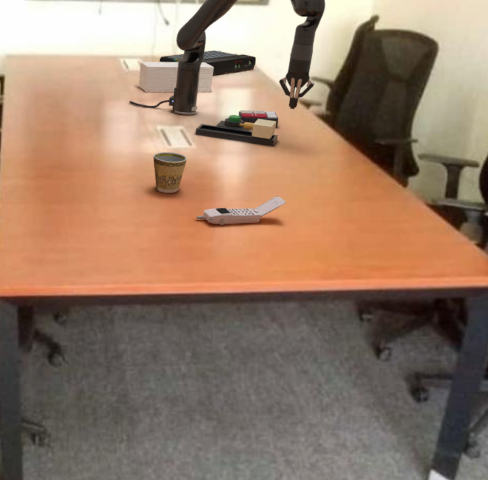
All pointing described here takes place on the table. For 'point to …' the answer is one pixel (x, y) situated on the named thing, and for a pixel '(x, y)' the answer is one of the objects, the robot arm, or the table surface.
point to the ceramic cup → (168, 171)
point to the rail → (233, 135)
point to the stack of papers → (170, 76)
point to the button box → (231, 124)
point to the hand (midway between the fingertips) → (292, 108)
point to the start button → (234, 118)
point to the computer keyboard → (221, 61)
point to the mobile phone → (241, 213)
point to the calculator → (257, 116)
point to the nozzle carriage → (261, 128)
